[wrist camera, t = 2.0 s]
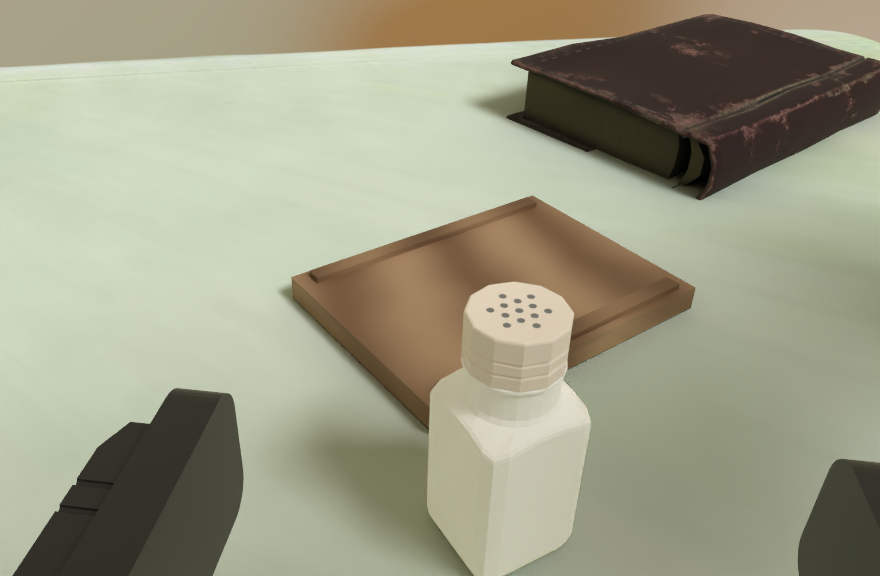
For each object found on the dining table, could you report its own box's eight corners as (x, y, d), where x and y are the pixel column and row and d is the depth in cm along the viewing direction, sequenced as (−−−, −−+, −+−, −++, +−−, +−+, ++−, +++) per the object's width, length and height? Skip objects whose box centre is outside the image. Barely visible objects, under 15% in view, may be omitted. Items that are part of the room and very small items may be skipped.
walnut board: (530, 213, 48) (532, 191, 48) (690, 307, 40) (696, 282, 40) (292, 297, 40) (290, 272, 39) (435, 436, 32) (436, 408, 31)
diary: (881, 124, 65) (903, 62, 62) (703, 215, 51) (722, 141, 48) (686, 60, 76) (698, 6, 73) (497, 120, 62) (503, 56, 59)
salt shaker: (576, 547, 28) (618, 326, 23) (480, 596, 26) (501, 370, 21) (510, 472, 31) (534, 261, 25) (419, 512, 29) (424, 294, 24)
